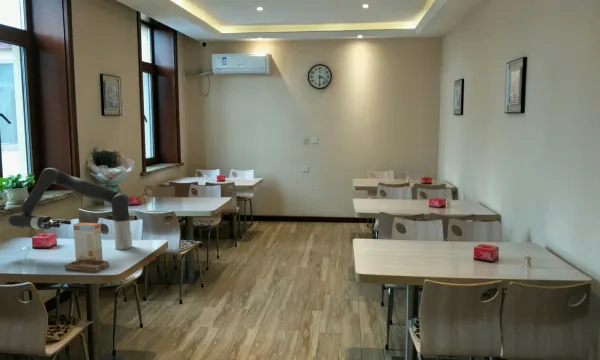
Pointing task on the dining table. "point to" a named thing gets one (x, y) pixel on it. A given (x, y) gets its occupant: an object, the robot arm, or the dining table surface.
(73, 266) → the tray
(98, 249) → the cracker box
